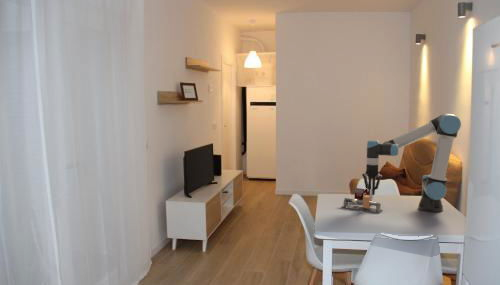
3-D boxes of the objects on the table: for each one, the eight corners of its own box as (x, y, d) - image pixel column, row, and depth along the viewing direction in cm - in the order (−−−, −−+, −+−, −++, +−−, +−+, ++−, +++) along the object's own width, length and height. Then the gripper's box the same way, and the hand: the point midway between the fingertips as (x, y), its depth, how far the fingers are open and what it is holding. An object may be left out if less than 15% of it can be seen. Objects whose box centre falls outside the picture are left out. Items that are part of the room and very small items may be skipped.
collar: (371, 206, 291) (371, 195, 290) (368, 208, 286) (368, 197, 285) (365, 205, 293) (366, 195, 292) (362, 207, 288) (363, 196, 287)
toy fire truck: (370, 205, 304) (370, 190, 303) (352, 203, 310) (352, 188, 308) (372, 202, 310) (372, 188, 309) (354, 200, 316) (355, 186, 315)
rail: (382, 211, 288) (383, 201, 287) (378, 213, 281) (379, 204, 280) (345, 205, 302) (345, 196, 302) (341, 208, 296) (341, 198, 295)
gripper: (384, 164, 284) (383, 199, 287) (364, 162, 291) (363, 197, 294) (380, 165, 278) (379, 201, 280) (360, 163, 285) (359, 199, 288)
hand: (371, 199), depth 287 cm, fingers closed
